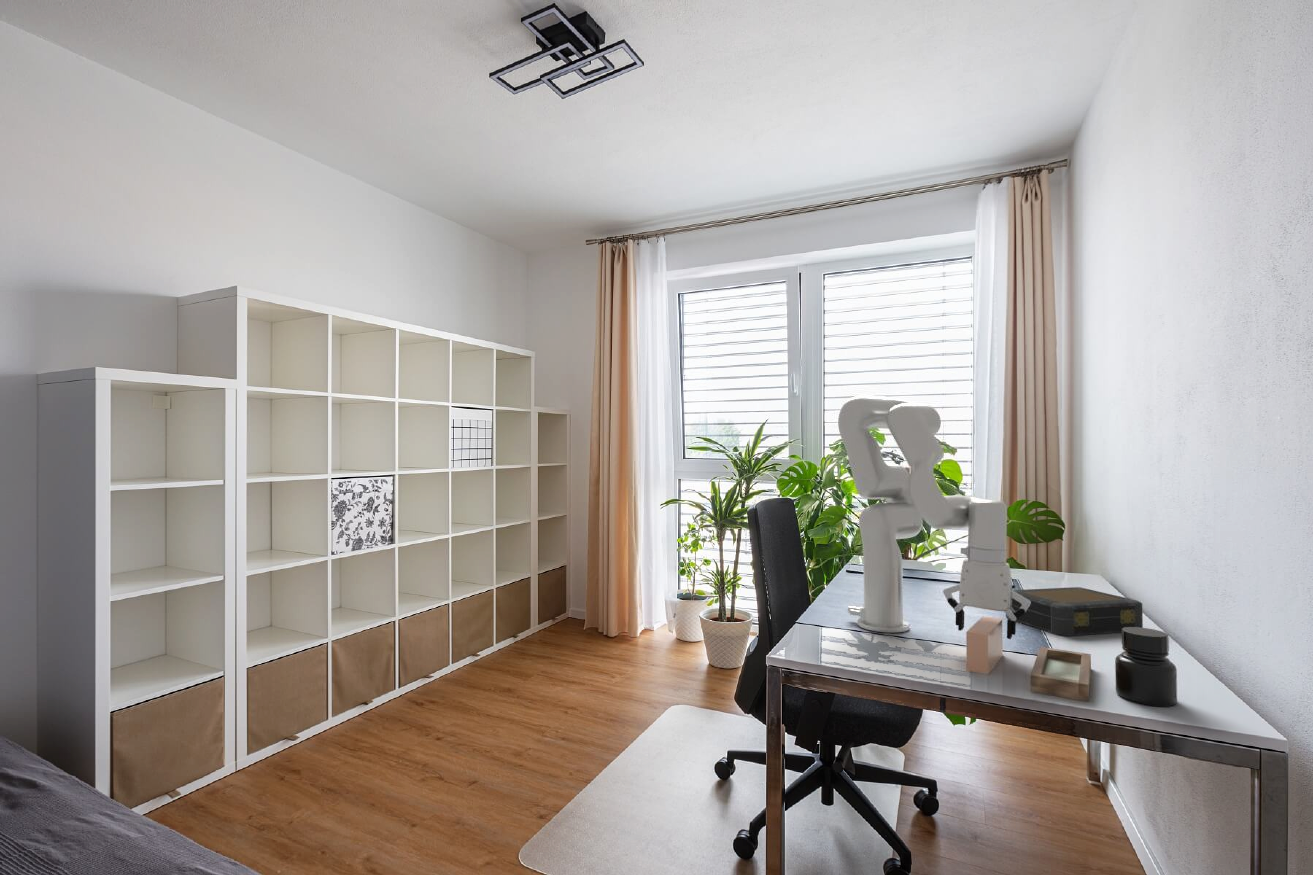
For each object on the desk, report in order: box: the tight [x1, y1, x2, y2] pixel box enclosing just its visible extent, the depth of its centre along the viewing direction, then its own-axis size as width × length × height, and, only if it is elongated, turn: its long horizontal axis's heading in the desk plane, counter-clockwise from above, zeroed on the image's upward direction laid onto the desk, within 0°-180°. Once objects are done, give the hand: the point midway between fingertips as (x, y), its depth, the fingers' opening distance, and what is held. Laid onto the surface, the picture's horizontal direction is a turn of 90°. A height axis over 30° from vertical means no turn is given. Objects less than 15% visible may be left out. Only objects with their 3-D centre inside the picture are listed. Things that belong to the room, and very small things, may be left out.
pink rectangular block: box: [965, 616, 1004, 675], centre depth 138 cm, size 4×16×8 cm, turn 143°
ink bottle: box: [1114, 627, 1178, 707], centre depth 118 cm, size 10×9×12 cm
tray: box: [1030, 646, 1092, 703], centre depth 127 cm, size 9×22×3 cm, turn 145°
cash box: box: [1005, 586, 1144, 637], centre depth 170 cm, size 25×20×8 cm
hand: (984, 633), depth 143 cm, fingers open, 9 cm apart
